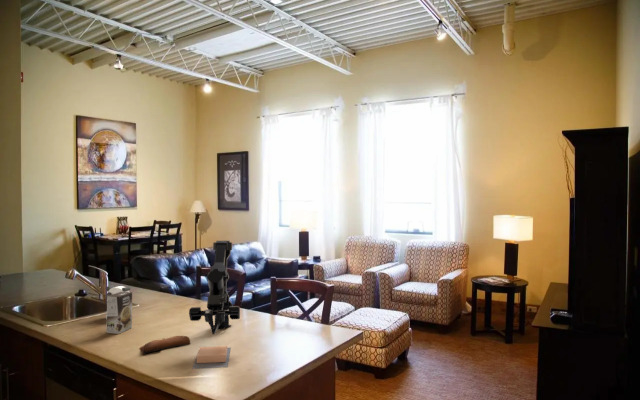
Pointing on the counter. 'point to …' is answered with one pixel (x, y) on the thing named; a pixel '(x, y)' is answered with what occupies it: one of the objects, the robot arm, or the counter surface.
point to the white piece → (116, 290)
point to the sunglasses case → (165, 344)
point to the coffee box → (119, 312)
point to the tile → (212, 354)
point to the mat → (213, 364)
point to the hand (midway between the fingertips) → (213, 333)
